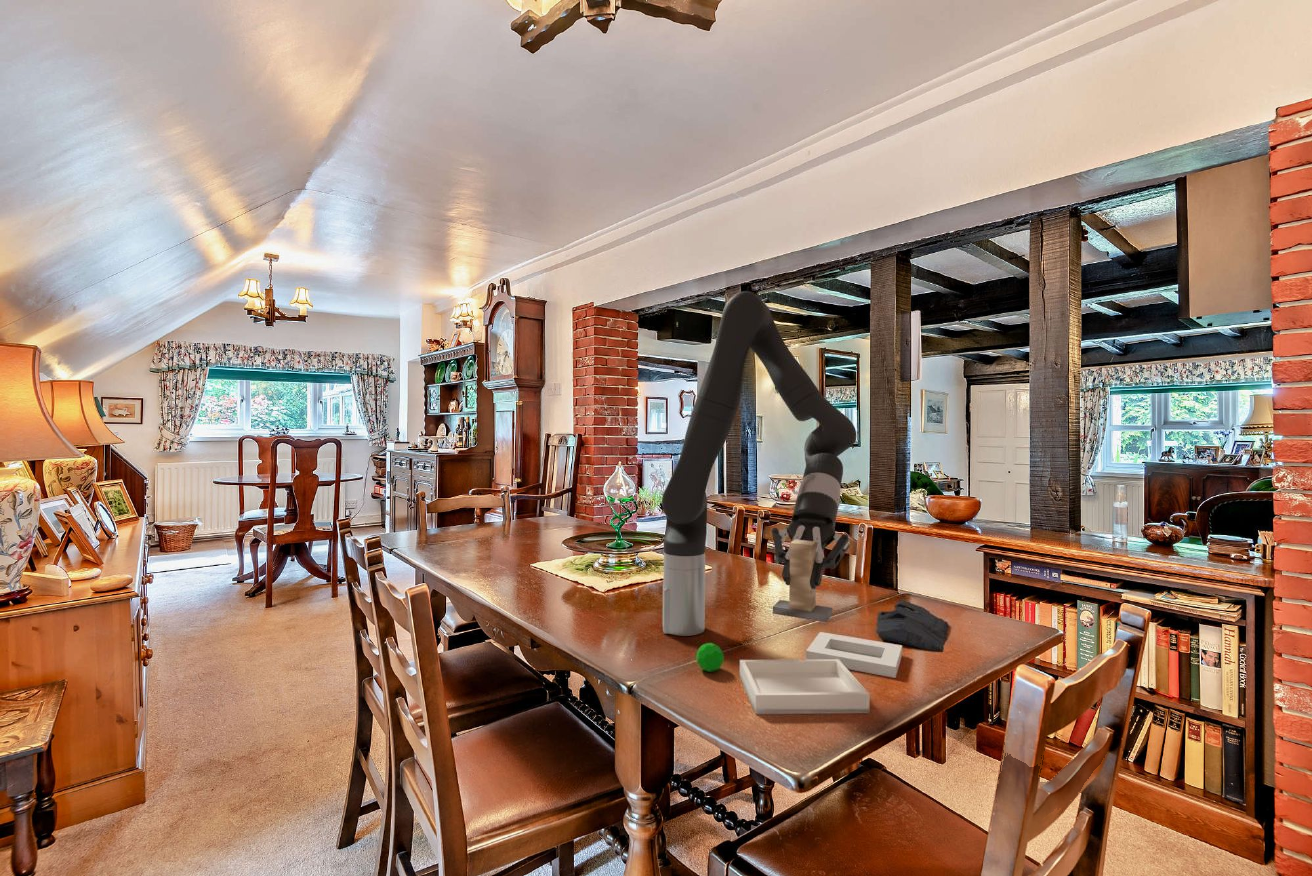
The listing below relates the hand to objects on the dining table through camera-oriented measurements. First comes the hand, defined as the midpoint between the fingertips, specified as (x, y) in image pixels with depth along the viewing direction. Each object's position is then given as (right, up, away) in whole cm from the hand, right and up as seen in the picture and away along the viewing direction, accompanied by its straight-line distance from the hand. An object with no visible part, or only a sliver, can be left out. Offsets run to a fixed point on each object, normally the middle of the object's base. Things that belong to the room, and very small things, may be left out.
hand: (800, 584), depth 97 cm
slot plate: (+15, -19, +17) cm, 29 cm away
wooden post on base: (+1, -5, +2) cm, 6 cm away
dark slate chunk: (+32, -19, +33) cm, 50 cm away
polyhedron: (-14, -19, +11) cm, 26 cm away
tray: (0, -19, +2) cm, 19 cm away
